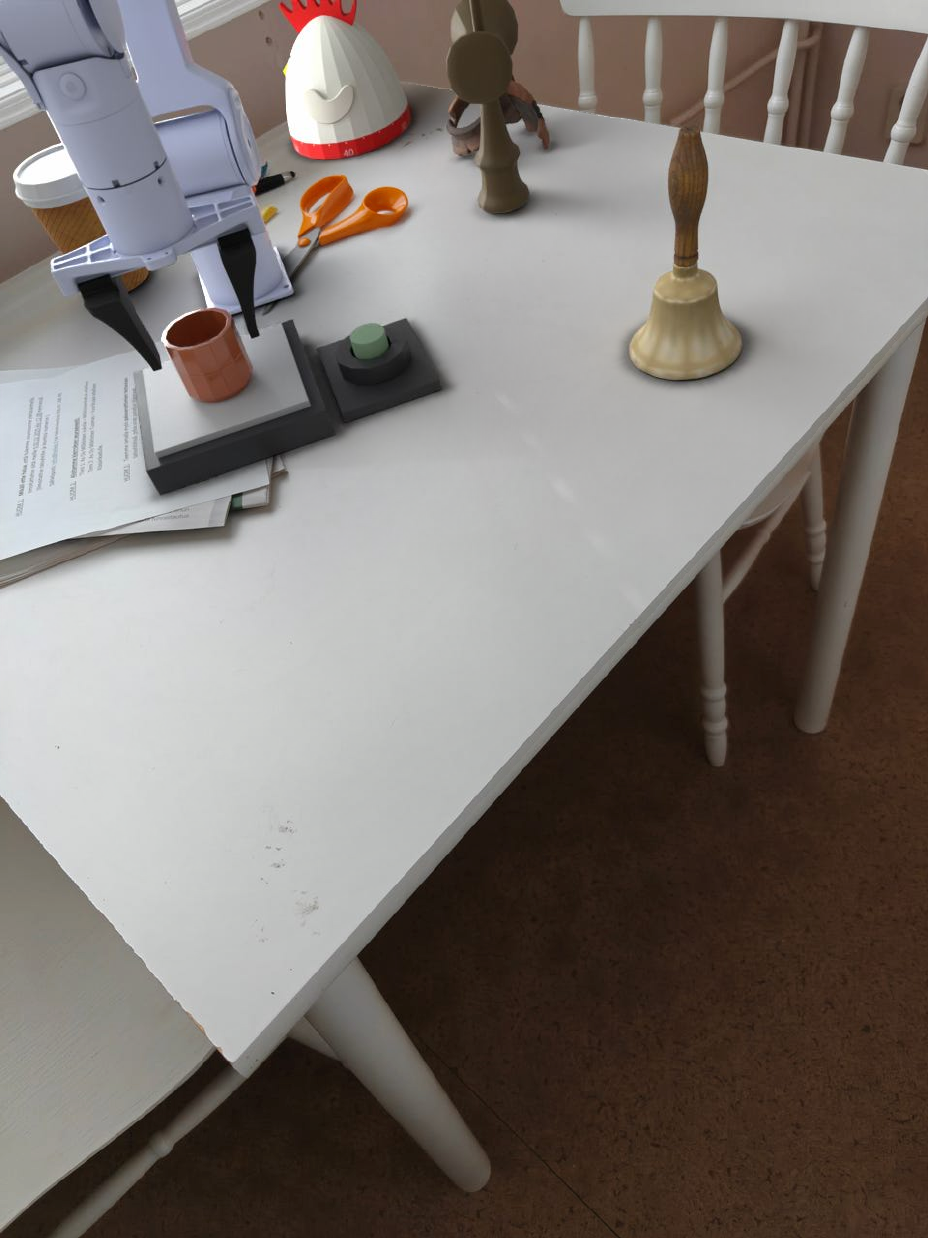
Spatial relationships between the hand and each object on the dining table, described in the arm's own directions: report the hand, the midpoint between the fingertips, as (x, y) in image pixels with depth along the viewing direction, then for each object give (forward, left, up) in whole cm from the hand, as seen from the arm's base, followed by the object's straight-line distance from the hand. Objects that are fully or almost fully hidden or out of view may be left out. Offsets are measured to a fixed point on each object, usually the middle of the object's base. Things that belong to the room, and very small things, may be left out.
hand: (205, 347), depth 70 cm
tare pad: (+1, +12, -6) cm, 14 cm away
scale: (0, 0, -6) cm, 6 cm away
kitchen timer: (-47, +21, -7) cm, 52 cm away
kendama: (-19, +30, -7) cm, 36 cm away
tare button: (+1, +12, -4) cm, 13 cm away
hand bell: (+11, +34, -7) cm, 36 cm away
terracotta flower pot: (0, 0, -3) cm, 3 cm away
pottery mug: (-31, +34, -7) cm, 46 cm away
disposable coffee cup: (-29, -8, -7) cm, 31 cm away
